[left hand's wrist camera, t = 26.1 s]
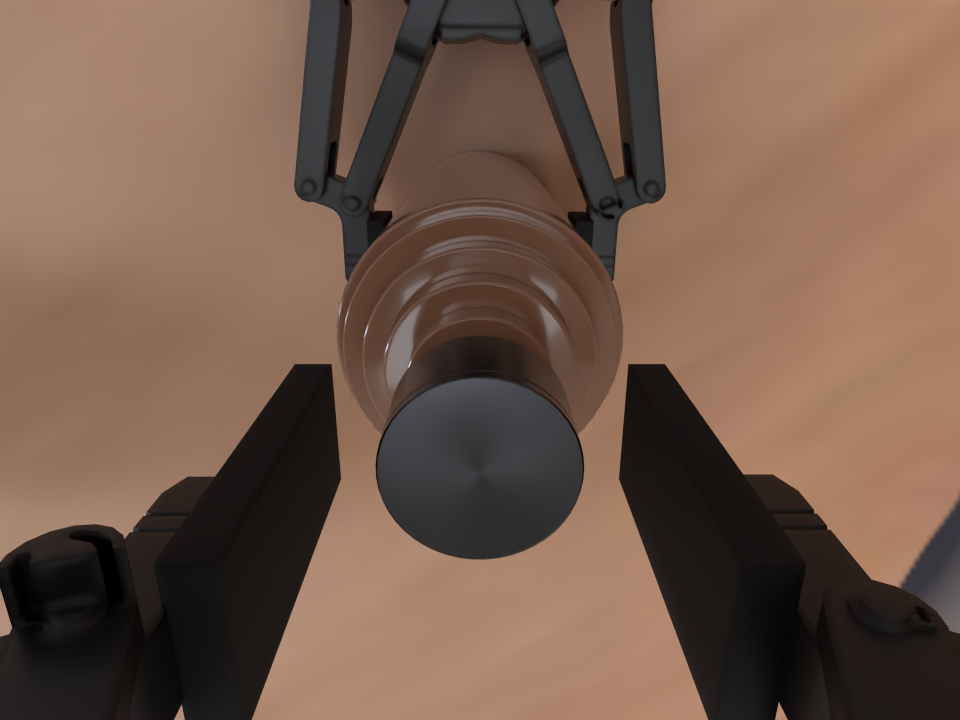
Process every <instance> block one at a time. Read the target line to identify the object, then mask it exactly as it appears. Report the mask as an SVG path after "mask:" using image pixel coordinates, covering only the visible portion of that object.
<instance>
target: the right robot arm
mask: <svg viewBox="0 0 960 720" xmlns="http://www.w3.org/2000/svg"><path fill="white" fill-rule="evenodd" d="M351 1H352V0H310V13H309V24H308V36H307V47H306V58H305V70H304V81H303V92H302V104H301V115H300V126H299V138H298V149H297V160H296V172H295V183H294V186H295V191H296V193H297V195H298V196H299V197H300V198H301V199H302V200H304V201H307V202H316V203H319V204H321V205H324V206H327V207H329V208H331V209H333V210H334V211H336V212H337V213H338V215H339V216H340V218H341V221H342V229H343V244H344V259H345V274H346V279H347V281H348V280H349V278H350V276H351V273H352V271H353V270H354V268H355V267H356V265H357V263H358V262H359V260H360V259H361V257H362V256H363V254H364V253H365V252H366V250H367V249H368V248H369V246H370V245H371V244H372V243H373V241H374V240H375V239H376V237H377V236H378V235H379V234H380V232H381V231H382V230H383V228H384V227H385V226H386V225H387V223H388V222H389V221H390V219H391V218H392V211H375V212H374V203H375V202H376V200H377V199H376V197H377V194H378V192H379V189H380V187H381V184H382V181H383V179H384V176H385V174H386V171H387V169H388V166H389V164H390V161H391V158H392V156H393V153H394V151H395V148H396V146H397V143H398V140H399V138H400V135H401V133H402V130H403V128H404V125H405V123H406V120H407V117H408V115H409V112H410V110H411V107H412V105H413V102H414V99H415V97H416V94H417V92H418V89H419V87H420V84H421V81H422V79H423V76H424V74H425V71H426V69H427V67H428V65H429V63H430V61H431V58H432V56H433V53H434V51H435V48H436V46H437V43H438V41H442V42H443V43H444V44H464V43H467V42H471V41H474V40H477V39H484V40H488V41H491V42H494V43H498V44H518V43H519V42H521V41H524V44H525V47H526V49H527V52H528V55H529V57H530V60H531V62H532V64H533V66H534V68H535V70H536V73H537V75H538V78H539V81H540V83H541V86H542V89H543V91H544V94H545V96H546V99H547V102H548V104H549V107H550V110H551V112H552V115H553V118H554V120H555V123H556V125H557V128H558V131H559V133H560V136H561V139H562V141H563V144H564V147H565V149H566V152H567V154H568V157H569V160H570V162H571V165H572V168H573V170H574V173H575V176H576V178H577V181H578V183H579V186H580V189H581V191H582V194H583V197H584V199H585V202H586V213H585V212H568V218H569V220H570V221H571V222H572V224H573V225H574V226H575V227H576V229H577V230H578V231H579V233H580V234H581V235H582V236H583V238H584V239H585V240H586V242H587V243H588V244H589V246H590V247H591V248H592V249H593V251H594V252H595V253H596V255H597V256H598V257H599V258H600V260H601V262H602V264H603V265H604V267H605V269H606V270H607V272H608V274H609V276H610V278H611V280H612V281H613V279H614V269H615V255H616V242H617V229H618V222H619V220H620V217H621V216H622V215H623V213H625V212H626V211H627V210H629V209H631V208H634V207H637V206H640V205H642V204H645V203H655V202H657V201H659V200H660V199H661V198H662V197H663V195H664V193H665V189H666V182H665V169H664V156H663V144H662V131H661V118H660V105H659V93H658V80H657V67H656V55H655V42H654V29H653V17H652V1H653V0H605V1H608V2H611V7H610V33H611V43H612V53H613V63H614V73H615V83H616V93H617V104H618V114H619V124H620V134H621V144H622V154H623V164H624V174H625V175H624V176H622V177H619V178H616V179H614V178H613V175H612V172H611V170H610V167H609V164H608V161H607V159H606V156H605V153H604V150H603V147H602V145H601V142H600V139H599V136H598V134H597V131H596V128H595V125H594V123H593V120H592V117H591V114H590V111H589V109H588V106H587V103H586V100H585V98H584V95H583V92H582V89H581V86H580V84H579V81H578V78H577V75H576V73H575V70H574V67H573V64H572V62H571V59H570V56H569V53H568V49H567V44H566V40H565V37H564V34H563V31H562V28H561V26H560V23H559V20H558V17H557V15H556V12H555V9H554V8H555V6H556V5H557V3H558V2H559V0H404V2H405V3H406V5H407V6H408V9H407V12H406V15H405V17H404V20H403V23H402V25H401V28H400V31H399V33H398V36H397V39H396V43H395V48H394V52H393V55H392V57H391V60H390V63H389V65H388V68H387V71H386V74H385V76H384V79H383V82H382V84H381V87H380V90H379V92H378V95H377V98H376V101H375V103H374V106H373V109H372V111H371V114H370V117H369V119H368V122H367V125H366V127H365V130H364V133H363V136H362V138H361V141H360V144H359V146H358V149H357V152H356V154H355V157H354V160H353V162H352V165H351V168H350V171H349V173H348V176H347V178H345V177H342V176H339V175H337V174H336V167H337V158H338V149H339V139H340V130H341V121H342V112H343V103H344V93H345V84H346V75H347V66H348V57H349V47H350V38H351V28H352V6H351Z"/></svg>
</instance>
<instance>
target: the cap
mask: <svg viewBox="0 0 960 720" xmlns="http://www.w3.org/2000/svg"><path fill="white" fill-rule="evenodd" d="M583 477H584V459H583V452H582V448H581V443H580V440H579V437H578V433H577V430H576V426H575V423H574V420H573V416H572V413H571V410H570V406H569V403H568V399H567V396H566V393H565V391H564V388H563V386H562V383H561V382H560V380H559V378H558V376H557V375H556V373H555V372H554V371H553V369H552V368H551V367H550V366H549V365H548V364H547V363H546V362H545V361H544V360H543V359H542V358H541V357H540V356H539V355H537V354H536V353H534V352H533V351H532V350H530V349H528V348H526V347H525V346H523V345H521V344H518V343H516V342H513V341H511V340H507V339H503V338H499V337H492V336H467V337H461V338H457V339H453V340H449V341H447V342H444V343H442V344H439V345H437V346H435V347H433V348H432V349H430V350H428V351H427V352H425V353H424V354H423V355H421V356H420V357H419V358H418V359H417V360H416V361H415V362H413V363H412V364H411V365H410V367H409V368H408V369H407V371H406V372H405V373H404V374H403V376H402V378H401V380H400V381H399V383H398V385H397V388H396V390H395V393H394V396H393V399H392V402H391V406H390V409H389V412H388V416H387V419H386V423H385V426H384V429H383V433H382V436H381V439H380V443H379V447H378V451H377V457H376V479H377V484H378V489H379V492H380V495H381V497H382V500H383V502H384V504H385V506H386V508H387V510H388V512H389V513H390V514H391V516H392V517H393V519H394V520H395V521H396V523H397V524H398V525H399V526H400V527H401V528H402V529H403V530H404V531H405V532H406V533H408V534H409V535H410V536H411V537H412V538H414V539H415V540H417V541H418V542H420V543H421V544H423V545H425V546H427V547H429V548H431V549H433V550H435V551H438V552H440V553H443V554H446V555H450V556H454V557H459V558H466V559H494V558H501V557H506V556H510V555H513V554H516V553H519V552H522V551H525V550H527V549H529V548H531V547H533V546H535V545H537V544H538V543H540V542H542V541H543V540H545V539H546V538H547V537H549V536H550V535H551V534H552V533H554V532H555V531H556V530H557V529H558V528H559V527H560V526H561V525H562V523H563V522H564V521H565V520H566V518H567V517H568V516H569V514H570V513H571V511H572V509H573V507H574V506H575V504H576V502H577V499H578V497H579V494H580V491H581V487H582V483H583Z"/></svg>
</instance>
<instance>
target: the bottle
mask: <svg viewBox="0 0 960 720" xmlns="http://www.w3.org/2000/svg"><path fill="white" fill-rule="evenodd" d="M467 336H492V337H499V338H503V339H507V340H511V341H513V342H516V343H518V344H521V345H523V346H525V347H526V348H528V349H530V350H532V351H533V352H534V353H536V354H537V355H539V356H540V357H541V358H542V359H543V360H544V361H545V362H546V363H547V364H548V365H549V366H550V367H551V368H552V369H553V371H554V372H555V373H556V375H557V376H558V378H559V380H560V382H561V383H562V386H563V388H564V391H565V393H566V396H567V399H568V403H569V406H570V410H571V413H572V416H573V420H574V423H575V426H576V430H577V433H578V434H579V433H580V432H581V431H582V430H583V429H584V428H585V426H586V425H587V424H588V423H589V421H590V420H591V419H592V418H593V417H594V415H595V413H596V412H597V410H598V409H599V407H600V406H601V404H602V403H603V401H604V399H605V398H606V396H607V394H608V392H609V390H610V388H611V386H612V384H613V381H614V379H615V376H616V373H617V369H618V366H619V363H620V357H621V351H622V345H623V323H622V315H621V308H620V304H619V300H618V296H617V293H616V290H615V287H614V285H613V283H612V280H611V278H610V276H609V274H608V272H607V270H606V269H605V267H604V265H603V264H602V262H601V260H600V258H599V257H598V256H597V255H596V253H595V252H594V251H593V249H592V248H591V247H590V246H589V244H588V243H587V242H586V240H585V239H584V238H583V236H582V235H581V234H580V233H579V231H578V230H577V229H576V227H575V226H574V225H573V224H572V222H571V221H570V220H569V218H568V217H567V216H566V214H565V213H564V212H563V211H562V209H561V208H560V207H559V205H558V204H557V203H556V202H555V200H554V199H553V198H552V196H551V195H550V194H549V192H548V191H547V190H546V189H545V187H544V186H543V185H542V183H541V182H540V181H539V180H538V178H537V177H536V176H535V175H534V174H533V173H532V172H531V171H530V170H529V169H528V168H526V167H525V166H524V165H522V164H521V163H519V162H518V161H516V160H514V159H512V158H510V157H507V156H504V155H502V154H498V153H493V152H484V151H476V152H467V153H462V154H459V155H456V156H453V157H450V158H448V159H446V160H444V161H442V162H441V163H439V164H438V165H436V166H435V167H433V168H432V169H431V170H430V171H429V172H428V173H427V174H426V175H425V176H424V177H423V178H422V180H421V181H420V182H419V183H418V185H417V186H416V187H415V188H414V190H413V191H412V192H411V194H410V195H409V196H408V197H407V199H406V200H405V201H404V203H403V204H402V205H401V206H400V208H399V209H398V210H397V212H396V213H395V214H394V215H393V217H392V218H391V219H390V221H389V222H388V223H387V225H386V226H385V227H384V228H383V230H382V231H381V232H380V234H379V235H378V236H377V237H376V239H375V240H374V241H373V243H372V244H371V245H370V246H369V248H368V249H367V250H366V252H365V253H364V254H363V256H362V257H361V259H360V260H359V262H358V263H357V265H356V267H355V268H354V270H353V271H352V273H351V276H350V278H349V280H348V282H347V285H346V287H345V289H344V293H343V296H342V300H341V303H340V307H339V314H338V321H337V345H338V352H339V359H340V363H341V366H342V370H343V374H344V377H345V379H346V381H347V384H348V386H349V388H350V391H351V393H352V394H353V396H354V398H355V399H356V401H357V403H358V404H359V406H360V408H361V409H362V411H363V412H364V414H365V415H366V416H367V418H368V419H369V420H370V422H371V423H372V424H373V425H374V427H375V428H376V429H377V430H378V431H379V432H380V433H381V434H382V433H383V429H384V426H385V423H386V419H387V416H388V412H389V409H390V406H391V402H392V399H393V396H394V393H395V390H396V388H397V385H398V383H399V381H400V380H401V378H402V376H403V374H404V373H405V372H406V371H407V369H408V368H409V367H410V365H411V364H412V363H413V362H415V361H416V360H417V359H418V358H419V357H420V356H421V355H423V354H424V353H425V352H427V351H428V350H430V349H432V348H433V347H435V346H437V345H439V344H442V343H444V342H447V341H449V340H453V339H457V338H461V337H467Z"/></svg>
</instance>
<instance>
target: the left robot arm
mask: <svg viewBox="0 0 960 720" xmlns="http://www.w3.org/2000/svg"><path fill="white" fill-rule="evenodd" d="M340 480H341V473H340V461H339V449H338V437H337V425H336V413H335V401H334V388H333V376H332V364H295V365H294V367H293V368H292V369H291V371H290V372H289V374H288V375H287V376H286V378H285V379H284V381H283V382H282V383H281V385H280V386H279V388H278V389H277V390H276V392H275V393H274V395H273V396H272V398H271V399H270V400H269V402H268V403H267V405H266V406H265V407H264V409H263V410H262V412H261V413H260V414H259V416H258V417H257V419H256V420H255V421H254V423H253V424H252V426H251V427H250V428H249V430H248V431H247V433H246V434H245V436H244V437H243V438H242V440H241V441H240V443H239V444H238V445H237V447H236V448H235V450H234V451H233V452H232V454H231V455H230V457H229V458H228V459H227V461H226V462H225V464H224V465H223V467H222V468H221V469H220V471H219V472H218V474H217V475H216V476H215V477H187V478H185V479H183V480H182V481H180V482H179V483H177V484H176V485H174V486H172V487H171V488H169V489H168V490H166V491H165V492H163V493H162V494H161V495H160V496H159V498H158V499H157V500H156V501H155V502H154V504H153V505H152V506H151V507H150V509H149V510H148V511H147V512H146V516H143V517H142V518H141V520H140V521H139V522H138V523H137V524H136V526H135V527H134V528H133V532H130V533H129V534H128V535H127V537H126V538H125V539H124V536H123V535H122V534H121V533H120V532H118V531H117V530H116V529H114V528H113V527H107V526H102V525H97V524H93V525H77V526H71V527H67V528H63V529H59V530H55V531H51V532H48V533H46V534H43V535H41V536H38V537H36V538H34V539H31V540H29V541H27V542H25V543H24V544H22V545H21V546H19V547H18V548H16V549H15V550H13V551H12V552H10V553H8V554H7V555H6V556H5V557H4V558H3V560H2V561H1V562H0V589H1V592H2V595H3V598H4V602H5V605H6V608H7V612H8V615H9V618H10V622H11V625H12V630H11V632H10V634H9V635H5V636H2V637H0V720H174V718H175V716H176V714H177V712H178V710H179V708H180V706H181V704H182V707H183V712H184V717H185V720H252V717H253V715H254V712H255V709H256V707H257V704H258V701H259V698H260V696H261V693H262V690H263V688H264V685H265V682H266V680H267V677H268V674H269V671H270V669H271V666H272V663H273V661H274V658H275V655H276V653H277V650H278V647H279V645H280V642H281V639H282V636H283V634H284V631H285V628H286V626H287V623H288V620H289V618H290V615H291V612H292V609H293V607H294V604H295V601H296V599H297V596H298V593H299V591H300V588H301V585H302V583H303V580H304V577H305V574H306V572H307V569H308V566H309V564H310V561H311V558H312V556H313V553H314V550H315V547H316V545H317V542H318V539H319V537H320V534H321V531H322V529H323V526H324V523H325V520H326V518H327V515H328V512H329V510H330V507H331V504H332V502H333V499H334V496H335V494H336V491H337V488H338V485H339V483H340ZM619 480H620V483H621V485H622V488H623V491H624V494H625V496H626V499H627V502H628V504H629V507H630V510H631V512H632V515H633V518H634V520H635V523H636V526H637V529H638V531H639V534H640V537H641V539H642V542H643V545H644V547H645V550H646V553H647V556H648V558H649V561H650V564H651V566H652V569H653V572H654V574H655V577H656V580H657V583H658V585H659V588H660V591H661V593H662V596H663V599H664V601H665V604H666V607H667V609H668V612H669V615H670V618H671V620H672V623H673V626H674V628H675V631H676V634H677V636H678V639H679V642H680V645H681V647H682V650H683V653H684V655H685V658H686V661H687V663H688V666H689V669H690V671H691V674H692V677H693V680H694V682H695V685H696V688H697V690H698V693H699V696H700V698H701V701H702V704H703V707H704V709H705V712H706V715H707V717H708V720H775V717H776V712H777V707H778V702H779V703H780V705H781V707H782V709H783V711H784V713H785V715H786V717H787V719H788V720H960V634H959V633H955V632H951V631H949V628H948V626H947V625H946V624H945V622H944V621H943V620H942V618H941V617H940V615H939V614H938V613H937V611H935V610H934V609H933V608H931V607H930V606H929V605H927V604H926V603H925V602H924V601H922V600H921V599H920V598H918V597H916V596H914V595H912V594H910V593H908V592H906V591H904V590H902V589H900V588H898V587H896V586H892V585H889V584H885V583H882V582H878V581H874V580H871V579H870V577H869V576H868V575H867V574H866V573H865V571H864V570H863V569H862V568H861V566H860V565H859V564H858V563H857V562H856V560H855V559H854V558H853V557H852V556H851V554H850V553H849V552H848V551H847V549H846V548H845V547H844V546H843V545H842V543H841V542H840V541H839V540H838V539H837V537H836V536H835V535H834V534H833V532H832V531H831V530H827V525H826V524H825V523H824V521H823V520H822V519H821V518H820V517H819V515H818V514H814V509H813V508H812V507H811V506H810V504H809V503H808V502H807V501H806V500H805V498H804V497H803V496H802V495H801V494H800V492H799V491H798V490H796V489H795V488H793V487H791V486H790V485H788V484H787V483H785V482H784V481H782V480H780V479H779V478H777V477H776V476H774V475H743V474H742V472H741V471H740V469H739V468H738V467H737V465H736V464H735V462H734V461H733V459H732V458H731V457H730V455H729V454H728V452H727V451H726V450H725V448H724V447H723V445H722V444H721V443H720V441H719V440H718V438H717V437H716V436H715V434H714V433H713V431H712V430H711V428H710V427H709V426H708V424H707V423H706V421H705V420H704V419H703V417H702V416H701V414H700V413H699V412H698V410H697V409H696V407H695V406H694V405H693V403H692V402H691V400H690V399H689V398H688V396H687V395H686V393H685V392H684V390H683V389H682V388H681V386H680V385H679V383H678V382H677V381H676V379H675V378H674V376H673V375H672V374H671V372H670V371H669V369H668V368H667V367H666V365H665V364H628V376H627V388H626V401H625V413H624V425H623V437H622V449H621V461H620V473H619Z"/></svg>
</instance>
